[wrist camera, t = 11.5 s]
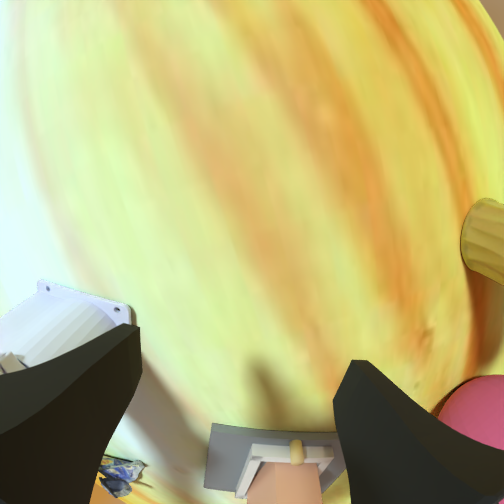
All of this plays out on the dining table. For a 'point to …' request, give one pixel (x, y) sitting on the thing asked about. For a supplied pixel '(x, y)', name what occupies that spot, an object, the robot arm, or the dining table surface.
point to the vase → (484, 239)
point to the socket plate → (267, 455)
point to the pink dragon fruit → (478, 411)
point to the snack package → (118, 475)
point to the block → (285, 484)
